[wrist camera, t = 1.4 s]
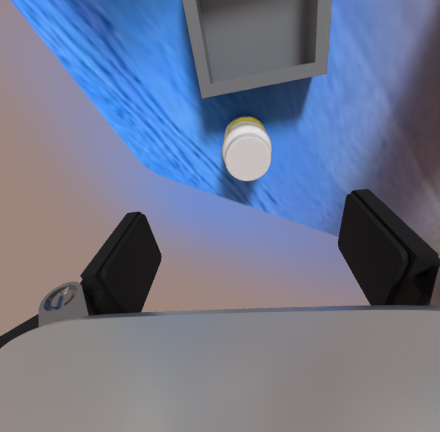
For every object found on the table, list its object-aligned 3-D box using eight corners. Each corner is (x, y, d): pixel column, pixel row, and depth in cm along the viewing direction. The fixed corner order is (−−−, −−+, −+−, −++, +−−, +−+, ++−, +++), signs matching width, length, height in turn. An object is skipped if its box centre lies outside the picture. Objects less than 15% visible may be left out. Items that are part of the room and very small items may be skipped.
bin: (320, -82, 17) (340, -118, 14) (313, 72, 22) (326, 73, 19) (181, -41, 18) (169, -64, 15) (206, 94, 24) (201, 98, 21)
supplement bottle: (249, 162, 28) (253, 194, 21) (217, 142, 27) (210, 169, 20) (273, 128, 25) (287, 152, 18) (239, 105, 24) (240, 120, 17)
